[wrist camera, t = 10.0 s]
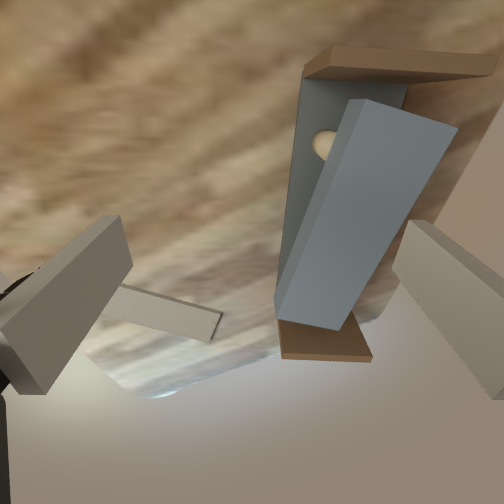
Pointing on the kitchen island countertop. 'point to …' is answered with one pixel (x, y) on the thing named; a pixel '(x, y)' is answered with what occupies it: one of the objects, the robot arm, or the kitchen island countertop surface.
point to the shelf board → (357, 209)
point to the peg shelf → (308, 163)
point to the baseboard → (162, 313)
